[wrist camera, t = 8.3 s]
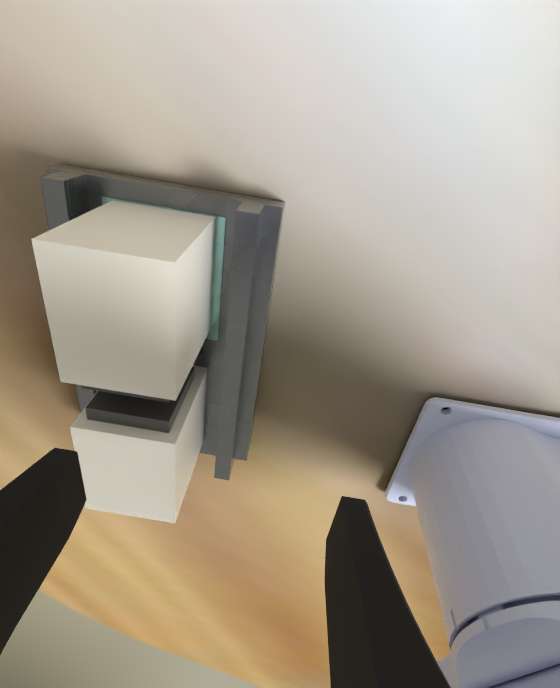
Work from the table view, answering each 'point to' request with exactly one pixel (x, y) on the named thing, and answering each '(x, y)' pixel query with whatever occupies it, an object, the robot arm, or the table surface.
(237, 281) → the sliding window
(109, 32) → the table surface
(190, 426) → the white and grey block
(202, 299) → the white cardboard box
